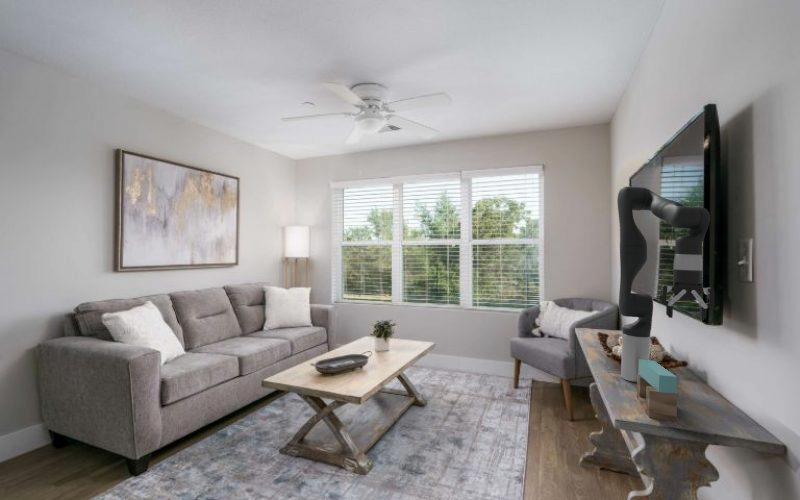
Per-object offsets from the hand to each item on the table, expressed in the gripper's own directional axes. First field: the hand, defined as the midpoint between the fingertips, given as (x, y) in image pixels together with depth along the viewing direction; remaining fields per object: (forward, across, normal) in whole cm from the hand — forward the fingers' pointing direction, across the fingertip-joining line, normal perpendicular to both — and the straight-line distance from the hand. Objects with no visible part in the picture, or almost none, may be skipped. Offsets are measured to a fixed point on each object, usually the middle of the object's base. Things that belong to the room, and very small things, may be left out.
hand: (685, 318), depth 127 cm
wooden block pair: (+28, +9, +7) cm, 30 cm away
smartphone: (+29, -4, -44) cm, 52 cm away
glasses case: (+20, +9, +7) cm, 23 cm away
